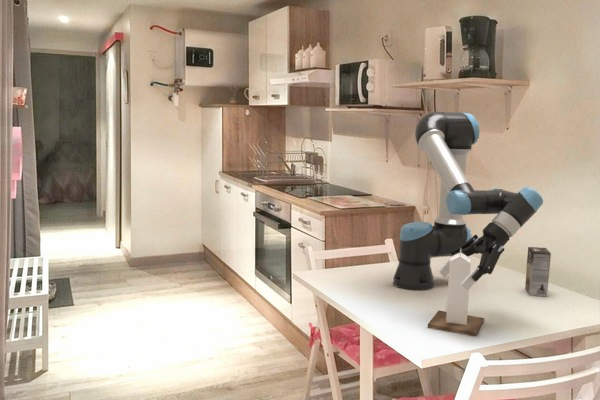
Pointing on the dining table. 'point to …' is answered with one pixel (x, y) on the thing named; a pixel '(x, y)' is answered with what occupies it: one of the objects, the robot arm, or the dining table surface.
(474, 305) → the dining table surface
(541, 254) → the coffee box
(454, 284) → the milk
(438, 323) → the walnut board
